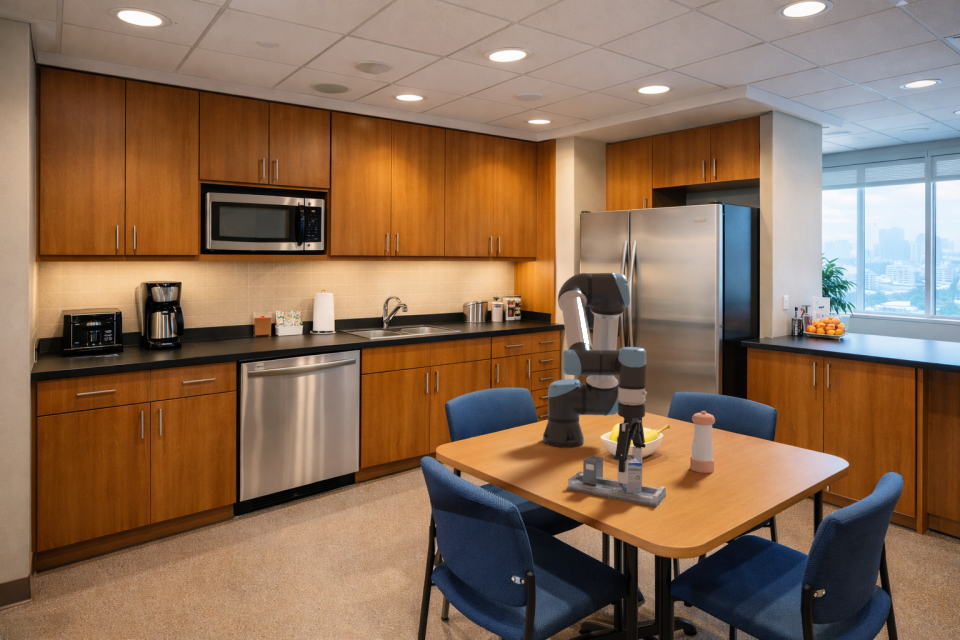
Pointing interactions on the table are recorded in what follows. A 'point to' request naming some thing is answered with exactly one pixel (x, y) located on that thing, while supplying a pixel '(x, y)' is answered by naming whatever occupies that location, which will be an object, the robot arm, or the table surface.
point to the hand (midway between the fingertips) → (629, 476)
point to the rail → (611, 485)
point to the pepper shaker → (702, 443)
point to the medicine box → (633, 476)
